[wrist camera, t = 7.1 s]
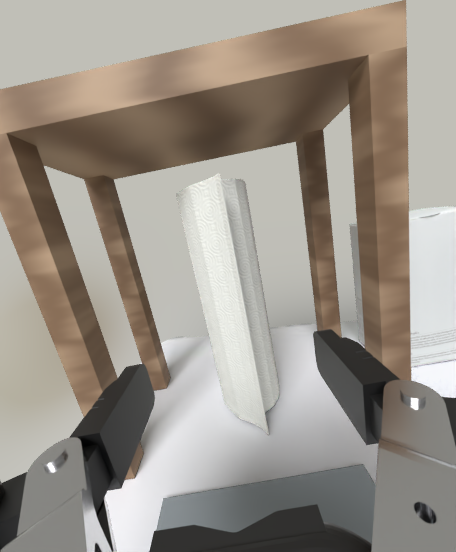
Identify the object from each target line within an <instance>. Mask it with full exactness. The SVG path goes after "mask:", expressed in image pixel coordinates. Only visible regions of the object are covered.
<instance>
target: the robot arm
mask: <svg viewBox="0 0 456 552" xmlns="http://www.w3.org/2000/svg"><path fill="white" fill-rule="evenodd" d="M313 337H314V346H315V354H316V362H317V366H318V370H319V372H320V374H321V376H322V378H323V379H324V381H325V382H326V384H327V385H328V387H329V388H330V390H331V391H332V393H333V394H334V396H335V398H336V399H337V401H338V402H339V404H340V405H341V407H342V408H343V410H344V411H345V413H346V414H347V416H348V417H349V419H350V420H351V422H352V423H353V425H354V427H355V428H356V430H357V431H358V433H359V434H360V436H361V437H362V439H363V440H364V442H365V443H366V445H370V444H376V443H379V444H378V459H377V474H376V490H375V505H374V520H373V535H372V544H371V543H370V542H369V541H367V540H366V539H364V538H362V537H361V536H359V535H358V534H356V533H354V532H352V531H350V530H348V529H346V528H344V527H341V526H338V525H335V524H332V523H328V522H323V520H322V517H321V514H320V511H319V508H318V505H317V504H315V505H309V506H303V507H297V508H291V509H285V510H279V511H276V512H274V513H272V514H270V515H268V516H266V517H264V518H263V519H261V520H259V521H257V522H255V523H253V524H252V525H250V526H248V527H246V528H244V529H242V530H241V531H238V532H228V531H223V530H218V529H213V528H208V527H203V526H198V525H188V526H182V527H176V528H170V529H164V530H158V531H154V534H153V539H152V543H151V547H150V551H149V552H456V398H447V397H441V396H440V395H439V394H438V393H437V392H436V391H434V390H433V389H431V388H429V387H427V386H425V385H423V384H420V383H417V382H414V381H409V380H400V379H399V378H398V377H397V376H396V375H395V374H393V373H392V372H391V371H390V370H389V369H388V368H387V367H385V366H384V365H383V364H382V363H381V362H380V361H378V360H377V359H376V358H375V357H373V355H371V354H370V353H369V352H368V351H366V349H365V348H363V347H362V346H361V345H360V344H359V343H358V342H355V341H353V340H351V339H349V338H340V337H339V336H338V335H337V334H336V333H335V332H334V331H333V330H332V329H327V330H321V331H316V332H314V334H313ZM154 400H155V396H154V390H153V387H152V384H151V381H150V377H149V374H148V371H147V368H146V366H145V365H144V364H139V365H134V366H129V367H126V368H125V369H124V371H123V372H122V374H121V375H120V376H119V378H118V379H117V380H115V381H114V382H113V383H111V384H110V385H109V386H108V387H107V388H106V389H105V390H104V391H103V392H102V394H101V395H100V397H99V398H98V401H96V402H95V403H94V405H93V406H92V409H90V410H89V412H88V413H87V414H86V416H85V417H84V418H83V420H82V421H81V423H80V424H79V425H78V427H77V428H76V429H75V431H74V432H73V433H72V435H71V436H70V438H67V439H64V440H62V441H60V442H58V443H56V444H54V445H53V446H52V447H50V448H49V449H47V450H46V451H45V452H44V453H42V454H41V455H40V456H39V457H38V458H37V459H36V460H35V461H34V463H33V464H32V465H31V467H30V468H29V470H28V472H26V473H24V474H22V475H19V476H17V477H15V478H12V479H10V480H8V481H6V482H3V483H1V482H0V552H117V550H116V545H115V540H114V535H113V530H112V525H111V520H110V515H109V510H108V505H107V502H106V500H105V494H106V492H107V491H108V490H114V489H120V488H122V485H123V483H124V480H125V478H126V475H127V473H128V470H129V467H130V465H131V462H132V460H133V457H134V455H135V452H136V450H137V447H138V445H139V442H140V439H141V437H142V434H143V432H144V429H145V427H146V424H147V422H148V419H149V417H150V414H151V411H152V409H153V406H154Z"/></svg>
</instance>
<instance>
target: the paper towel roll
mask: <svg viewBox="0 0 456 552" xmlns="http://www.w3.org/2000/svg"><path fill="white" fill-rule="evenodd" d="M176 197H177V201H178V205H179V209H180V214H181V217H182V222H183V226H184V231H185V235H186V239H187V244H188V248H189V252H190V256H191V261H192V265H193V269H194V273H195V278H196V282H197V286H198V291H199V295H200V299H201V303H202V307H203V312H204V316H205V321H206V325H207V329H208V334H209V338H210V342H211V346H212V351H213V355H214V359H215V364H216V368H217V372H218V376H219V381H220V385H221V389H222V394H223V398H224V402H225V404H226V405H227V406H228V407H229V409H230V410H231V411H232V412H233V413H234V414H235V415H236V416H237V417H238V418H239V419H241V420H244V421H247V422H250V423H253V424H255V425H257V426H258V427H260V428H262V429H263V430H264V431H265V432H266V433H267V434H268V435H269V431H268V426H267V421H266V415H265V412H267V411H268V410H269V409H271V408H272V407H273V406H274V405H275V403H276V401H277V400H278V398H279V383H278V377H277V371H276V365H275V359H274V353H273V347H272V341H271V335H270V329H269V323H268V317H267V311H266V305H265V299H264V293H263V287H262V281H261V275H260V269H259V263H258V257H257V251H256V245H255V239H254V233H253V227H252V221H251V215H250V209H249V202H248V196H247V190H246V184H245V182H244V181H243V180H241V179H227V180H221V177H220V173H218V174H217V175H215V176H213V177H212V178H209V179H207V180H205V181H202V182H199V183H196V184H193V185H191V186H188V187H187V188H185V189H183V190H181V191H180V192H179V193H177V194H176Z"/></svg>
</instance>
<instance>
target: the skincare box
mask: <svg viewBox="0 0 456 552" xmlns="http://www.w3.org/2000/svg"><path fill="white" fill-rule="evenodd" d="M350 234H351V247H352V259H353V271H354V283H355V295H356V307H357V319H358V331H359V341H360V342H361V343H362V344H363V345H364V346H365V339H364V323H363V308H362V292H361V277H360V261H359V245H358V230H357V223H353V224H350ZM409 258H410V331H411V367H414V366H420V365H426V364H432V363H438V362H444V361H450V360H456V206H448V207H436V208H424V209H418V210H413V211H409Z"/></svg>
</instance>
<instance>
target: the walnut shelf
mask: <svg viewBox="0 0 456 552" xmlns="http://www.w3.org/2000/svg"><path fill="white" fill-rule="evenodd" d="M406 38H407V37H406V0H403V1H399V2H394V3H390V4H386V5H381V6H376V7H372V8H368V9H363V10H358V11H354V12H349V13H344V14H340V15H335V16H331V17H326V18H322V19H318V20H313V21H309V22H304V23H299V24H295V25H290V26H286V27H282V28H277V29H272V30H267V31H263V32H258V33H254V34H250V35H245V36H240V37H236V38H231V39H227V40H222V41H218V42H213V43H209V44H205V45H199V46H196V47H191V48H186V49H182V50H177V51H173V52H168V53H163V54H159V55H154V56H150V57H145V58H141V59H136V60H132V61H127V62H123V63H118V64H113V65H109V66H104V67H100V68H95V69H91V70H87V71H82V72H77V73H73V74H68V75H63V76H59V77H54V78H50V79H45V80H41V81H36V82H32V83H27V84H23V85H18V86H14V87H9V88H5V89H0V212H1V214H2V217H3V219H4V221H5V224H6V226H7V229H8V231H9V234H10V236H11V239H12V241H13V244H14V246H15V248H16V251H17V254H18V256H19V258H20V261H21V263H22V266H23V268H24V271H25V273H26V275H27V278H28V281H29V283H30V286H31V288H32V290H33V293H34V295H35V298H36V300H37V303H38V305H39V308H40V310H41V313H42V315H43V318H44V320H45V322H46V325H47V327H48V330H49V332H50V335H51V337H52V340H53V342H54V344H55V347H56V350H57V352H58V355H59V357H60V359H61V362H62V364H63V367H64V369H65V372H66V374H67V377H68V379H69V382H70V384H71V387H72V389H73V391H74V394H75V396H76V399H77V401H78V404H79V406H80V409H81V411H82V414H83V416H84V417H85V416H86V414H87V413H88V412H89V410H90V409H92V406H93V405H94V403H95V402H96V401H98V398H99V397H100V395H101V394H102V392H103V391H104V390H105V389H106V388H107V387H108V386H109V385H110V384H111V383H113V382H114V381H115V380H117V379H118V378H117V375H116V372H115V369H114V367H113V364H112V361H111V358H110V355H109V352H108V349H107V347H106V344H105V341H104V338H103V335H102V332H101V329H100V326H99V323H98V321H97V318H96V315H95V312H94V309H93V307H92V303H91V301H90V298H89V295H88V292H87V289H86V286H85V284H84V281H83V278H82V275H81V272H80V269H79V266H78V263H77V261H76V258H75V255H74V252H73V249H72V246H71V243H70V240H69V238H68V235H67V232H66V229H65V226H64V223H63V220H62V218H61V215H60V212H59V209H58V206H57V203H56V200H55V198H54V195H53V192H52V189H51V186H50V183H49V180H48V178H47V175H46V172H45V169H44V166H48V167H51V168H53V169H56V170H60V171H62V172H65V173H68V174H71V175H74V176H76V177H80V178H82V179H84V181H85V184H86V187H87V190H88V193H89V196H90V200H91V203H92V206H93V209H94V212H95V215H96V219H97V221H98V225H99V228H100V231H101V234H102V238H103V240H104V244H105V247H106V250H107V253H108V256H109V260H110V263H111V266H112V269H113V272H114V275H115V279H116V282H117V285H118V288H119V291H120V294H121V298H122V301H123V304H124V307H125V310H126V313H127V317H128V319H129V323H130V326H131V329H132V332H133V336H134V339H135V342H136V345H137V348H138V351H139V355H140V358H141V361H142V364H144V365H145V366H146V368H147V371H148V374H149V377H150V381H151V384H152V387H153V390H160V389H165V388H167V386H168V383H169V380H170V378H171V377H170V374H169V370H168V367H167V363H166V360H165V357H164V353H163V350H162V346H161V343H160V339H159V336H158V333H157V329H156V325H155V322H154V318H153V315H152V311H151V308H150V305H149V301H148V298H147V294H146V291H145V287H144V284H143V280H142V277H141V273H140V270H139V267H138V263H137V260H136V256H135V253H134V249H133V246H132V242H131V239H130V235H129V232H128V228H127V225H126V222H125V218H124V214H123V211H122V208H121V204H120V201H119V197H118V194H117V190H116V187H115V183H114V180H113V179H117V178H123V177H127V176H132V175H137V174H141V173H146V172H151V171H156V170H161V169H166V168H171V167H175V166H180V165H185V164H190V163H195V162H199V161H204V160H209V159H214V158H218V157H223V156H228V155H233V154H238V153H243V152H248V151H253V150H257V149H262V148H267V147H272V146H277V145H281V144H286V143H291V142H296V146H297V155H298V163H299V171H300V181H301V189H302V198H303V207H304V216H305V225H306V233H307V242H308V251H309V260H310V267H311V276H312V285H313V295H314V303H315V312H316V320H317V330H318V331H321V330H327V329H332V330H333V331H334V332H335V333H336V334H337V335H338V336H339V337H340V338H342V337H341V326H340V316H339V304H338V293H337V281H336V270H335V260H334V248H333V236H332V225H331V214H330V203H329V192H328V180H327V170H326V159H325V147H324V135H323V129H324V128H325V127H326V126H327V125H328V124H329V123H330V122H331V121H332V120H333V119H334V118H335V117H336V116H337V115H338V114H339V113H340V112H341V111H342V110H343V109H344V108H345V107H346V106H347V105H348V104H349V105H350V119H351V120H350V121H351V135H352V151H353V167H354V183H355V198H356V214H357V230H358V245H359V261H360V277H361V292H362V308H363V323H364V339H365V349H366V351H368V352H369V353H370V354H371V355H373V357H375V358H376V359H377V360H378V361H380V362H381V363H382V364H383V365H384V366H385V367H387V368H388V369H389V370H390V371H391V372H392V373H393V374H395V375H396V376H397V377H398V378H399V379H400V380H409V381H411V331H410V258H409V188H408V187H409V184H408V111H407V41H406V40H407V39H406ZM43 165H44V166H43ZM143 454H144V452H143V449H142V447H141V444H140V442H139V445H138V447H137V450H136V452H135V455H134V457H133V460H132V462H131V465H130V467H129V470H128V473H127V475H126V478H125V480H127V479H133V478H135V476H136V473H137V470H138V468H139V465H140V462H141V459H142V456H143Z"/></svg>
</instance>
